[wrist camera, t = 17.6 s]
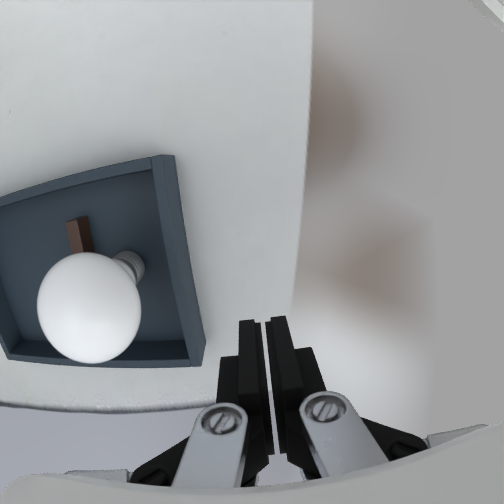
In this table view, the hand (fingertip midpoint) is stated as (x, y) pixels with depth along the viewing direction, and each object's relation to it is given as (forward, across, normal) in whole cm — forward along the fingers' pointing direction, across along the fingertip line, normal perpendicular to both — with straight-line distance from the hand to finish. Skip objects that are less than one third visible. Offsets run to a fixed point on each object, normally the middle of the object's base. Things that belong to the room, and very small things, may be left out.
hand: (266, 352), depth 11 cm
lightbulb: (+13, +10, 0) cm, 16 cm away
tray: (+13, +16, 0) cm, 21 cm away
